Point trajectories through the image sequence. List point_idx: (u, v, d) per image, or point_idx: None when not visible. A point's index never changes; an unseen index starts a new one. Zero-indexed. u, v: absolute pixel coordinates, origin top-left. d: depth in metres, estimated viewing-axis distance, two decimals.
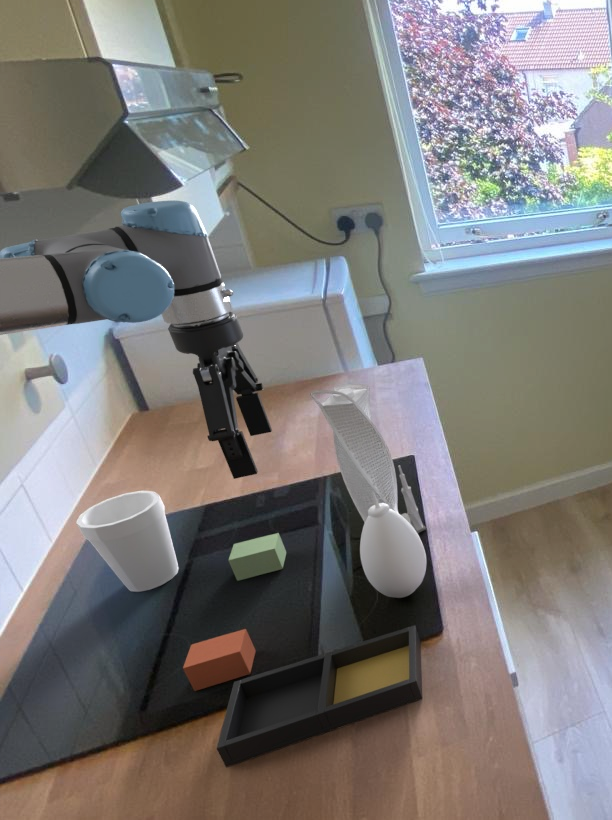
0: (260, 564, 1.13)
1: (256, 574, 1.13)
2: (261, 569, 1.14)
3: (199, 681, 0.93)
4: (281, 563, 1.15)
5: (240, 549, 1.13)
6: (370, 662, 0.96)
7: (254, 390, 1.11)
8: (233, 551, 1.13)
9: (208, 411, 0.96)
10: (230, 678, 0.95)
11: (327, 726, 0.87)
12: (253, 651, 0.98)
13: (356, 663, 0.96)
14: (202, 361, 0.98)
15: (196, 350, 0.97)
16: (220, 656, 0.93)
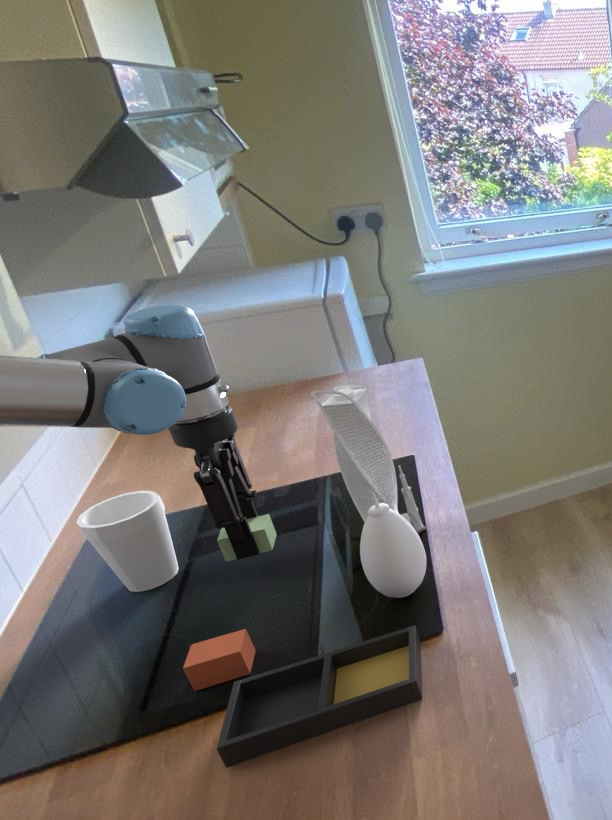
0: None
1: None
2: None
3: (199, 681, 0.93)
4: (271, 544, 1.13)
5: None
6: (370, 662, 0.96)
7: (247, 495, 1.13)
8: (222, 531, 1.11)
9: (213, 507, 1.04)
10: (230, 678, 0.95)
11: (327, 726, 0.87)
12: (253, 651, 0.98)
13: (356, 663, 0.96)
14: (198, 455, 1.03)
15: (193, 445, 1.02)
16: (220, 656, 0.93)
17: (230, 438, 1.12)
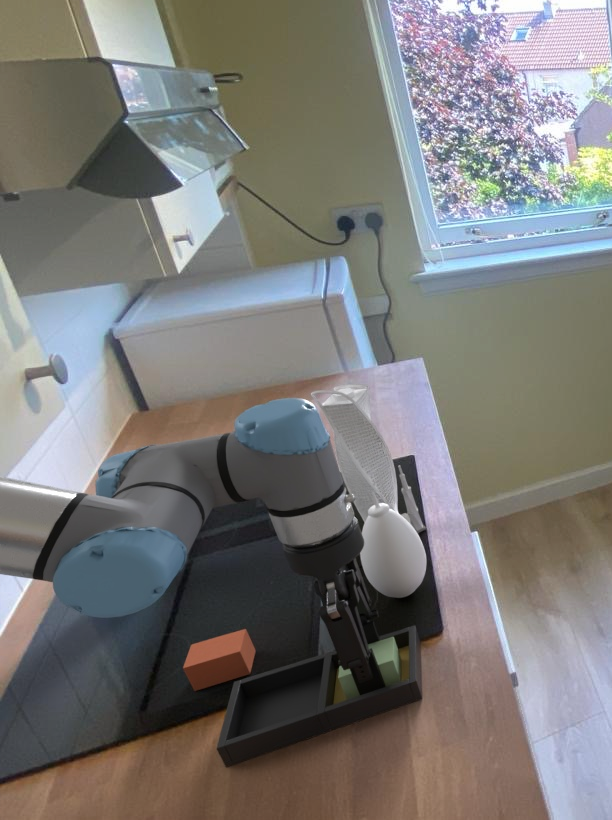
0: None
1: None
2: None
3: (199, 681, 0.93)
4: (399, 676, 0.93)
5: None
6: None
7: (368, 617, 0.93)
8: None
9: (339, 646, 0.83)
10: (230, 678, 0.95)
11: (327, 726, 0.87)
12: (253, 651, 0.98)
13: None
14: (322, 584, 0.82)
15: (316, 572, 0.81)
16: (220, 656, 0.93)
17: None
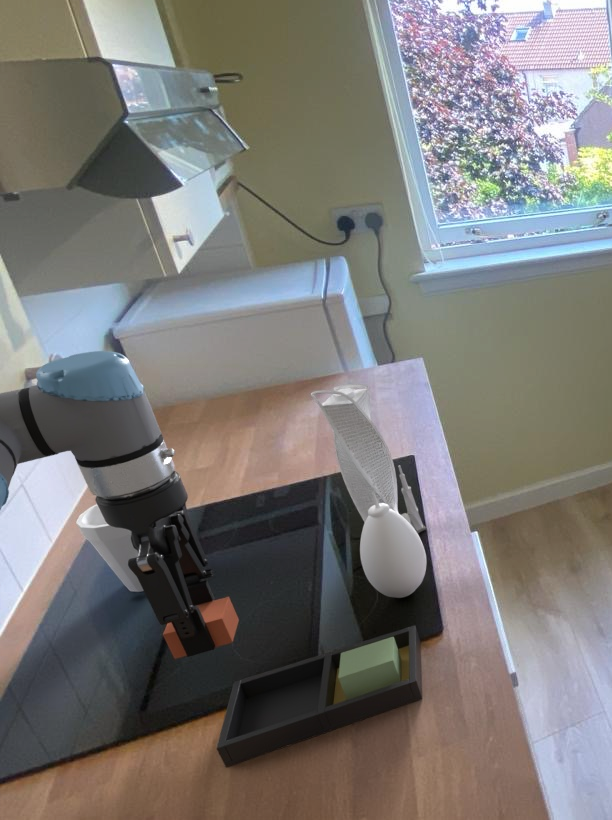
0: (375, 680, 0.91)
1: None
2: (376, 685, 0.91)
3: (179, 648, 0.91)
4: (399, 676, 0.93)
5: (350, 661, 0.91)
6: None
7: (201, 576, 0.93)
8: (341, 663, 0.91)
9: (154, 600, 0.84)
10: None
11: (327, 726, 0.87)
12: (236, 620, 0.96)
13: None
14: (135, 536, 0.83)
15: (128, 525, 0.82)
16: None
17: (180, 508, 0.92)
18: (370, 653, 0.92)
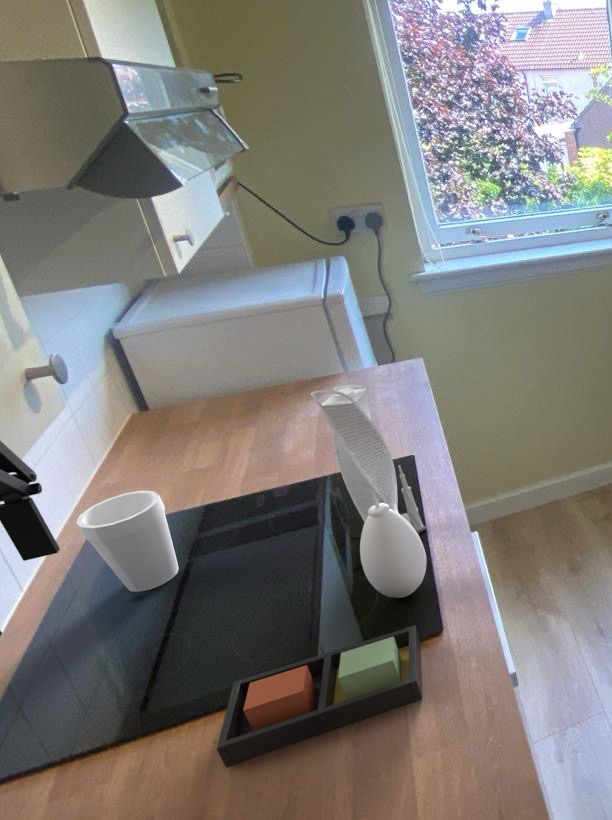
0: (375, 680, 0.91)
1: None
2: (376, 685, 0.91)
3: (260, 723, 0.86)
4: (399, 676, 0.93)
5: (350, 661, 0.91)
6: None
7: (25, 495, 0.74)
8: (341, 663, 0.91)
9: None
10: None
11: (327, 726, 0.87)
12: (314, 689, 0.92)
13: None
14: None
15: None
16: (283, 696, 0.87)
17: None
18: (370, 653, 0.92)
